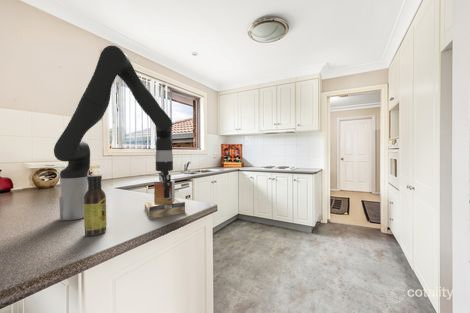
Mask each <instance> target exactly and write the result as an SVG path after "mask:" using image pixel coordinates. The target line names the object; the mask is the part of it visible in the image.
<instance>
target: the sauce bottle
mask: <svg viewBox="0 0 470 313" xmlns="http://www.w3.org/2000/svg"><path fill="white" fill-rule="evenodd" d="M102 178H103V177H102V174H99V175H98V174H97V175H96V174H95V175H94V174H93V175H88V177H87V180H88V191H87V192H86V194H85V196H84V218H83V219H84V220H83V223H84V234H85V236H86V237H92V236H98V235H101V234H103V233H105V232H106V231H107V196H106V195H107V194H106V192H104V190H103V189H102Z"/></svg>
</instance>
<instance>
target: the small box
mask: <svg viewBox="0 0 470 313" xmlns="http://www.w3.org/2000/svg"><path fill="white" fill-rule="evenodd" d="M153 183H154V188H153V190H154V196H153V199H154V201H153V202H154V205H166V204H173V203H174V202H175V199H176V198H175V197H176V194H175V193H176V188H175V187H176V186H175V185H176V184H175V183H176V181H175V179H171V188H170V189H169V198H164V187H163V185H162V181H160V180H159V179H158V180H155V181H154V182H153ZM166 186H168V184H167V185H166Z"/></svg>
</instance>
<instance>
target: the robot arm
mask: <svg viewBox="0 0 470 313" xmlns="http://www.w3.org/2000/svg"><path fill="white" fill-rule="evenodd" d="M95 66H96V67H95V70H94V72H93V74H92V76H91V79H90V80H89V82H88V84H87V87H86V89H85V90H84V91H83V92H84V93H83V94H82V95H81V98H80V100H79V102H78V104H77V107H76V108H75V111H74V113H73V114H72V116H71V118H70V120H69V122H68V123H67V125H66V127H65V129H64V130H63V131H62V133H61V135H60V136H59V138H58V139H57V141H56V143H55V144H54V148H53V155H54V157H55V158H56V160H57V161H60V162H68V163H67V165H66V167H65V168H63V169H62V170H61V171H60V172H59V184H60V186H59V187H60V196H59V198H58V200H59V201H58V203H59V204H58V205H59V221H75V220H79V219H84V196H85V194H86V192H87V191H88V180H87V177H88V176H89V175H88V174H89V171H90V166H91V149H90V146H89V144H88V142H86V141H85V140H83V138H84V136H85V135H86V133H87V132H88V131H89V130H90V129H92V128H93V127H94V126H96V124H97V123H98V122H99V121H101V119H102V118H103V117H104V115H105V113H106V111H107V109H108V107H109V105H110V101H111V95H112V94H111V93H112V88H113V85H114V82H115V80H116V77H119V78H120V80H122V81H123V82H124V84H126V86H127V87H128V89H129V91H130V93H131V94H132V96H133V97H134V99H135V102H137V104H138V105H139V106H140V108H141V110H142V111H143V112H144V113H145V115H147V116H148V117H149V118H150V120H151V121H152V123H153V124H154V126H155V134H156V137H155V138H156V139H155V171H156V172H158V180H160V181H162V185H163V187H164V198H169V189H170V188H171V180H172V179H171V178H172V175H171V174H169V173H170V172H172V171H173V170H174V156H173V155H174V154H173V141H172V127H173V121H172V119H171V118H170V117H169V115H168V114H167V113H166V112H165V111H164V109H163V108H162V106H160V104H159V102H158V101H157V100H156V99H155V96H153V94H152V93H151V92H150V91H149V88H147V87H146V85H145V84H144V83H143V81H142V80H141V79H140V77H139V75H138V74H137V72H136V71H135V69H134V66H133V64H132V62H131V60H130V58H129V56H128V55H127V54H126V53H125V52H124V51H123V50H122V48H120V47H119V46H116V45H113V44H112V45H107V46H105V48H103V49H102V51H101V52H100V55H99V57H98V60H97V64H96V65H95ZM167 184H168V186H166V185H167Z"/></svg>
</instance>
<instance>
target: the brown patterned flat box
mask: <svg viewBox="0 0 470 313" xmlns="http://www.w3.org/2000/svg"><path fill="white" fill-rule="evenodd" d="M144 211H145V213H146V215H147V216H148V218H149V219H156V218H162V217H168V216H173V215H178V214H179V215H180V214H185V213H186V201H182V202H180V200H178V199H176V198H175V202H174V203H173V204H166V205H154V201H150V202H144Z"/></svg>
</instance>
